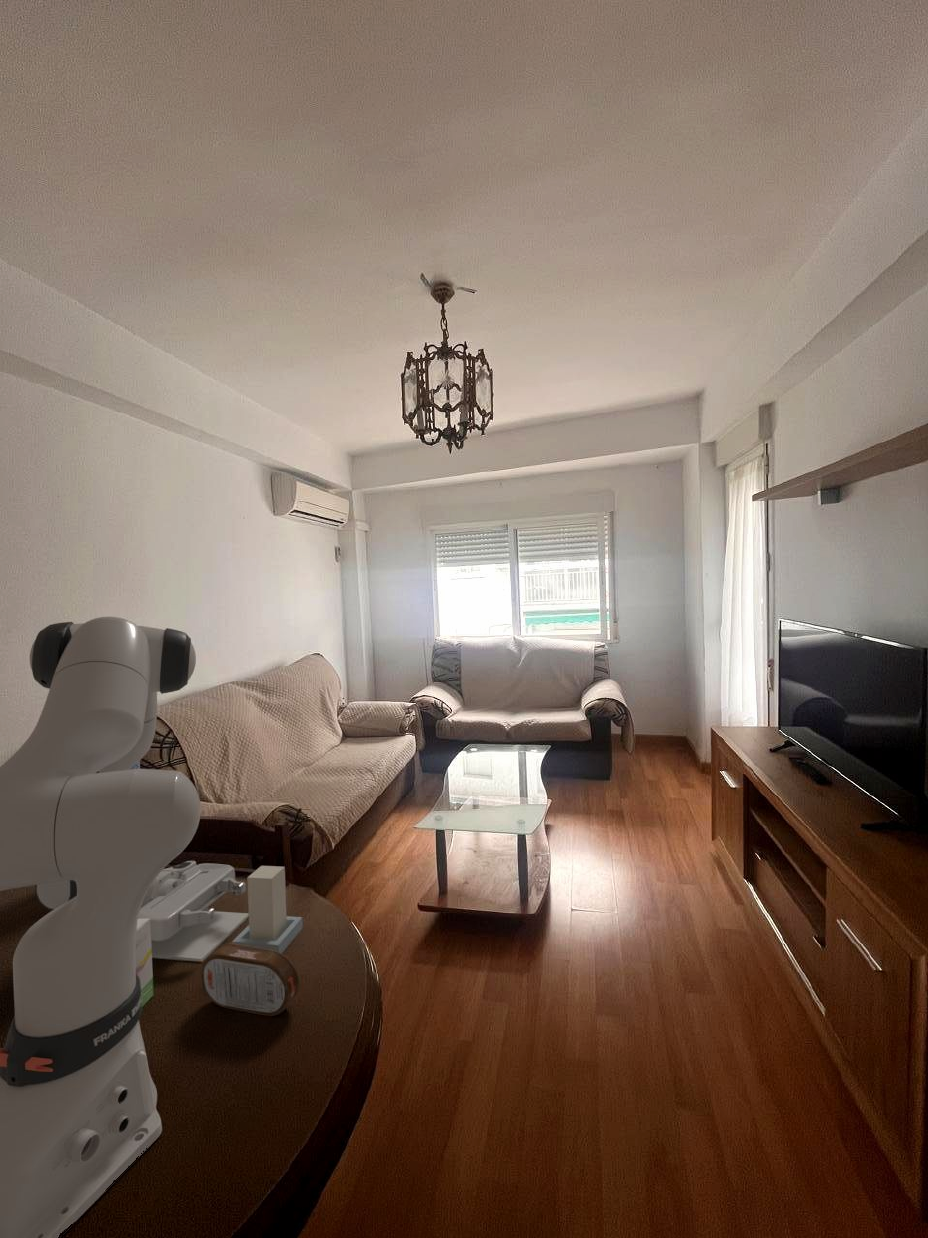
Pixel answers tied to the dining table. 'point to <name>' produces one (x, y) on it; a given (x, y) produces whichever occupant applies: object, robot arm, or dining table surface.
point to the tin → (249, 979)
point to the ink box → (144, 959)
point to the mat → (198, 938)
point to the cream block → (267, 903)
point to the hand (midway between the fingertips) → (228, 901)
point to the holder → (280, 945)
